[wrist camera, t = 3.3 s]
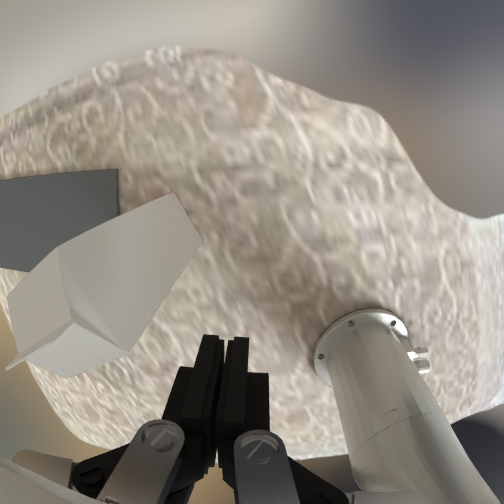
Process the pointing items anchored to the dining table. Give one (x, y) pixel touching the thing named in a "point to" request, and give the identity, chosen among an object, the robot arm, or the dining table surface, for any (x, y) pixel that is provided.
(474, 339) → the dining table surface
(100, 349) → the milk
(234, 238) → the dining table surface
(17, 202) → the mat
